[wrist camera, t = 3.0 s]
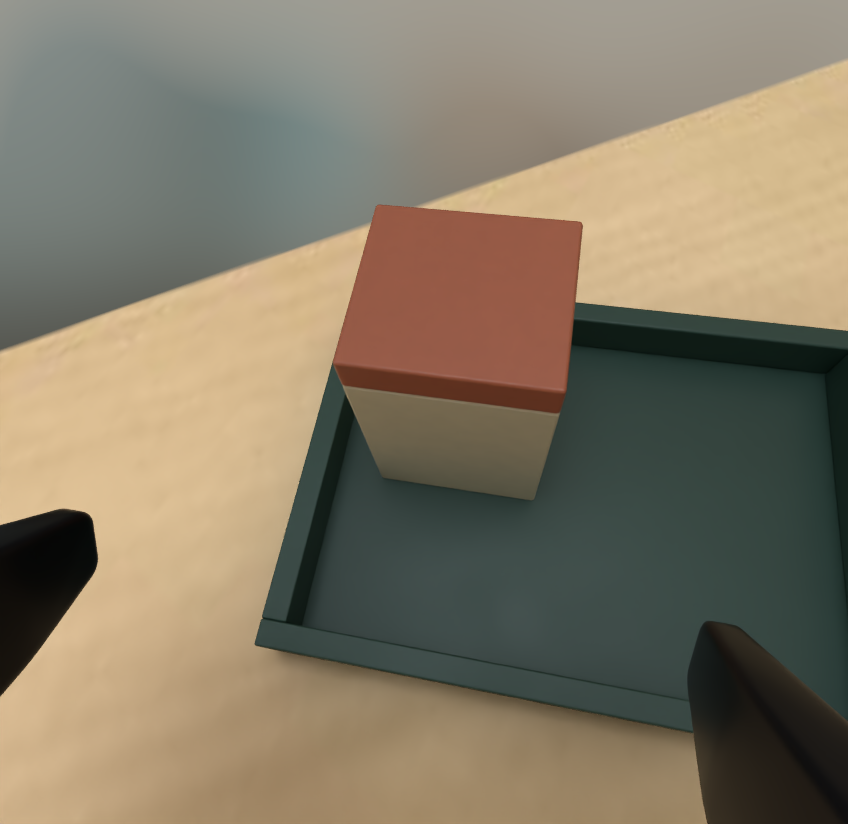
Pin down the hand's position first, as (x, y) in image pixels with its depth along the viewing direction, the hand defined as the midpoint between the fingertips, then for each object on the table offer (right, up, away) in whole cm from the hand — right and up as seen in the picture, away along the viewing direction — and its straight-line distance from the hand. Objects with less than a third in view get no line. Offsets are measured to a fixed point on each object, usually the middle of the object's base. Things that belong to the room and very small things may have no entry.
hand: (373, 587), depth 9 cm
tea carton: (+2, +2, +14) cm, 14 cm away
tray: (+6, -1, +13) cm, 14 cm away
